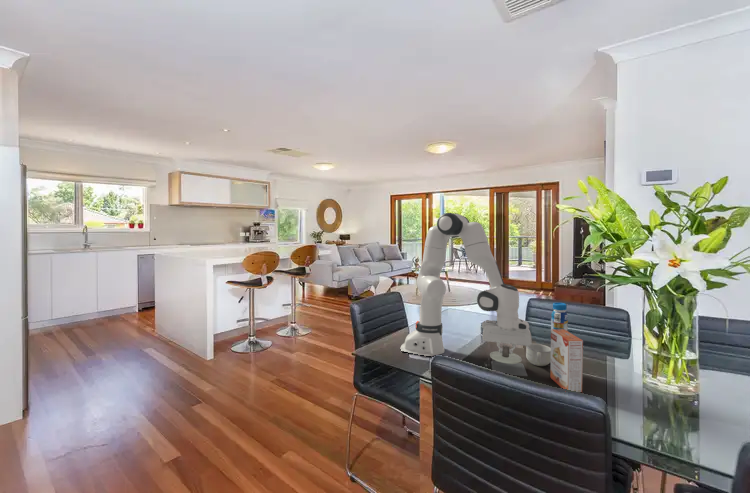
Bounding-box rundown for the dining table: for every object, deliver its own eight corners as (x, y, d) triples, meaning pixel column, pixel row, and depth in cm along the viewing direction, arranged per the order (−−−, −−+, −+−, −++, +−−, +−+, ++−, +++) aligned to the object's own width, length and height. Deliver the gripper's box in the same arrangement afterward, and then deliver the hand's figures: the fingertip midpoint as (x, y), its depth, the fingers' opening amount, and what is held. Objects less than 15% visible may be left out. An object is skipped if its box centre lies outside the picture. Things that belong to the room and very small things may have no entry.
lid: (490, 361, 150) (490, 349, 150) (489, 351, 163) (490, 340, 163) (522, 365, 147) (523, 353, 146) (520, 354, 159) (520, 343, 159)
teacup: (528, 357, 169) (529, 341, 168) (553, 362, 162) (554, 345, 162) (521, 367, 157) (522, 349, 157) (548, 373, 151) (548, 354, 151)
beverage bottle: (547, 337, 198) (547, 302, 197) (561, 336, 199) (562, 301, 198) (556, 342, 190) (557, 305, 189) (571, 341, 191) (572, 305, 190)
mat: (492, 373, 151) (492, 372, 151) (490, 361, 164) (490, 360, 164) (527, 377, 147) (527, 376, 147) (523, 364, 161) (523, 363, 161)
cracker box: (549, 378, 146) (550, 328, 145) (563, 378, 146) (564, 328, 145) (566, 394, 132) (567, 339, 131) (582, 394, 132) (584, 339, 131)
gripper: (482, 321, 154) (480, 352, 155) (533, 326, 148) (531, 358, 148) (482, 317, 160) (481, 347, 161) (531, 322, 154) (529, 353, 154)
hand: (505, 353), depth 155 cm, fingers closed on lid, 3 cm apart
